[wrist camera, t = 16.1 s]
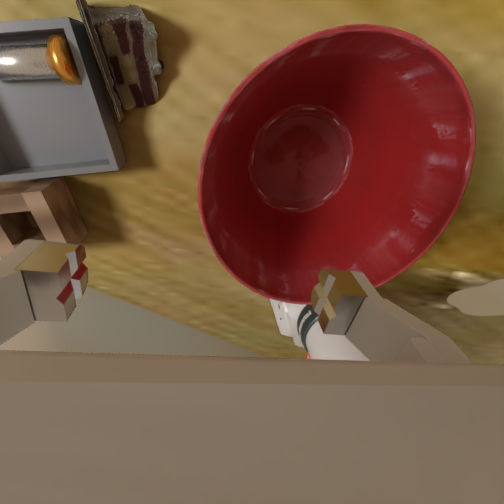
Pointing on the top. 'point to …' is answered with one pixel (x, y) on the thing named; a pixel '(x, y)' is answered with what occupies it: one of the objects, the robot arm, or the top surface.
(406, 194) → the mixing bowl
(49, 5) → the top surface
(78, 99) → the tray
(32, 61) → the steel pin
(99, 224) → the top surface
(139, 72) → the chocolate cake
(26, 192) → the hitch block
